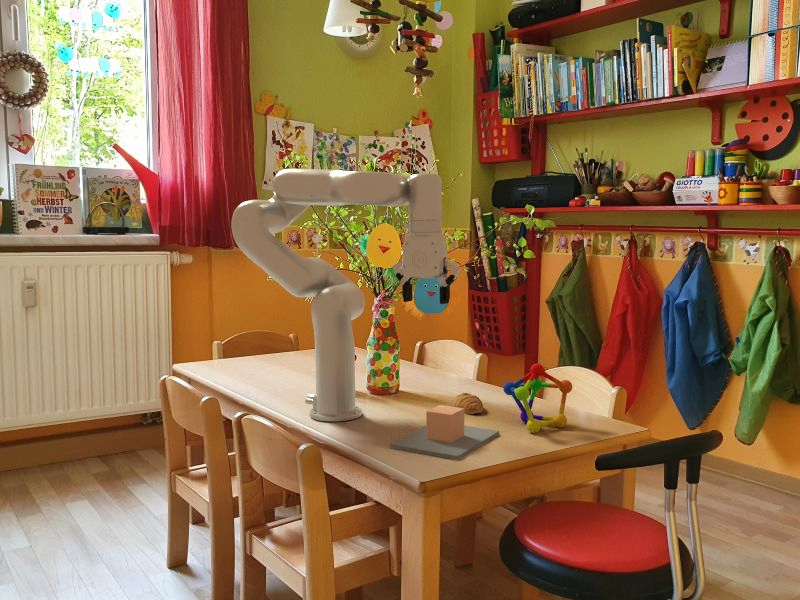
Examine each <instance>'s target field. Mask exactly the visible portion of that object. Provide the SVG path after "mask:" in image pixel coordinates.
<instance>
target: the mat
mask: <svg viewBox="0 0 800 600" xmlns="http://www.w3.org/2000/svg"><path fill="white" fill-rule="evenodd" d="M499 435H500V430H495V429H489V428H484V427H483V428H482V427H476V426H471V425H469V426H468V425H464V436H463V437H461V438H459V439H457V440H456V441H454V442H452V443H450V442H444V441H438V440H432V439H427V425H425V426H423V427H420V428H419V429H417V430H415V431H412V432H411V433H409V434H407V435H404V436H403V437H401V438H399V439H397V440H395V441H393V442H390V443H389V448H390V449H395V450H401V451H406V452H410V453H411V452H413V453H417V454H423V455H429V456H433V457H438V458H439V457H440V458H445V459H450V460H456V461H459V460H461V459H462V458H464V457H465V456H467V455H469V454H470V453H471V452H473V451H475V450H477V449H478V448H480V447H481V446H483V445H484V444H486V443H487V442H489V441H491V440H493V439H494V438H496V437H497V436H499Z"/></svg>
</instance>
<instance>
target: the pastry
mask: <svg viewBox="0 0 800 600" xmlns="http://www.w3.org/2000/svg"><path fill="white" fill-rule="evenodd" d="M452 404H453V407H458V408H464V415H467V414H469V415H474V414H482V413H483V411H484V404H483V402H482V400H481V399H480V397H478V396H477V395H475V394H474V395H473V394H472V393H467V392H463V393H460V394H458V395H457V396H456V397H455V398H454V400H453V403H452Z"/></svg>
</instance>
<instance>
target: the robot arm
mask: <svg viewBox="0 0 800 600" xmlns="http://www.w3.org/2000/svg"><path fill="white" fill-rule="evenodd" d="M442 186H443V185H442V177H441V176H440V175H439V174H437V173H432V172H431V173H429V172H427V173H425V172H423V173H415V174H414V173H413V174H412V175H405V174H399V173H394V172H393V173H392V172H387V171H386V172H385V171H356V170H355V171H350V170H349V171H348V170H341V169H323V168H321V169H318V168H317V169H316V168H286V169H282V170H280V171H278V172H277V173H276V174H275V175H274V177H273V178H272V183H271V189H272V193H273V196H272V197H271V198H269V199H267V200H265V199H251V200H247V201H243V202H242V203H240V204H239V205H237V207H236V208H235V209H234V211H233V214H232V217H231V223H230V224H231V232H232V236H233V239H234V242H235V244H236V245H237V247H238V248H239V250H240V252H242V253H243V254H244V255H245V256H246V257H247V258H248V259H249V261H252V262H253V263H254V264H255V265H256V266H258V267H259V269H261V270H262V271H264V273H266V274H267V275H268V277H271V279H273V280H274V281H275V282H276V283H277V284H278V285H279V286H281V287H282V288H283V289H284V290H286V292H288V293H289V294H290V295H291V296H294V297H296V298H307V297H313V299H312V301H311V307H310V316H311V321H312V322H311V323H312V328H313V335H314V350H315V351H314V355H315V356H314V358H315V394H311V393H310V394H307V397H306V398H305V400H304V402H305V404H306V405H312V409H311V410H310V413H309V414H310V418H312V419H314V420H316V421H321V422H347V421H351V420H355V419H358V418H360V417H362V414H363V409H362V408H361V407H360V406H357V405H356V366H355V365H356V361H355V359H356V358H355V352H356V350H355V335H354V331H353V326H352V321H353V320H356V319H357V318H359V317H360V316H361V315H362V314H363V313H364V311H365V307H366V297H365V295H364V293H363V291H362V289H360V287H358V286H357V284H355V283H354V282H353V281H352V280H351V279H350V278H348V277H347V276H346V275H344V274H343V273H342V272H341V271H340V270H338V269H337V268H335V267H334V266H333V265H332V264H330V262H328V261H326V260H324V259H322V258H319V257H313V256H312V257H304V256H302V255H301V254H299V253H297V251H295V250H293V249H292V248H291V247H290V246H289V245H288V244H287V243H286V242H285V241H282V240H280V239H279V238H277V237H276V236H274V235H275V234H278V233H281V232H282V231H284V230H285V229H287V228H288V227H289V226H290V225H291V224H292V223H294V222H295V221H296V220H297V219H298V218H299V217H300V216H301V215H303V213H304V212H305V211H306V210H307V209H308V208H309V207H310V206H326V207H327V206H328V207H329V206H330V207H341V206H346V205H349V206H350V205H352V206H353V205H357V206H373V207H374V206H377V207H392V208H393V207H396V208H398V207H399V208H400V207H405V206H408V222H407V223H405V224H404V229H405V230H408V234H405V236H404V240H403V241H404V242H403V247H402V259H401V260H400V261H399V262H396V263H395V264H393V265H392V269H393V272H394V274H395V277H396V279H397V280H398V281H399V283H400V285H402V288H401V289H402V299H403V300H402V301H403V302H404V303H408V302H412V301H413V298H414V297H413V296H414V294H413V292H414V291H413V284H412V283H411V282H412V281H413V279H437V280H438V282H439V283H440V285H441V286H440V287H439V304H440V305H445V304H446V305H447V304H449V303H450V299H451V286H452V285H453V283H455V281H456V280H457V279H458V275H459V273H460V271H461V267H460V266H458V265H457V264H455V263H454V262H452V261H451V260H449V259H448V257H449V256H448V248H447V241H446V237H445V234H444V233H443V231H442V230H443V227H442V225H443V220H442V219H443V217H442V216H443V215H442V214H443V213H442V212H443V210H442V209H443V204H442V203H443V201H442V199H443V197H442V196H443V194H442V189H443V188H442ZM449 270H451V272H450V274H449V275H448V272H449Z"/></svg>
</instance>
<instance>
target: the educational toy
mask: <svg viewBox="0 0 800 600" xmlns="http://www.w3.org/2000/svg"><path fill="white" fill-rule="evenodd" d="M529 370H530V371H529V372H528V373H527V374H525V375H524V376H523V377H520V379H518V380H517V381H515V382H513V381H507V382H506V383H504V384H503V388H502V389H503V392H504V393H505V395H507V396H511V397H512V399H513V400H514V401H515V403H516V405H517V406H518V408H519V410H520V411H521V412H520V419H521V421H522V422H523V423H525V424H526V429H527V430H528V432H529V433H531V434H536V433H538V432H539V431H540V430H541V428H542V427H547V426H552V425H554V426H555V427H557V428H561V429H562V428H564V427H566V425H567V424H568V418H567V416H566V415H565V414H564V413H565V406H566V401H567V394H569V393H570V392H572V390H573V383H572V382H571V381H570V380H568V379H563V380H560V379H558V378H556V377H554V376H553V375H550V374H549V373H547V372H545V368H544V366H543V365H542V364H540V363H534V364H532V365H531V366H530V369H529ZM540 377H544V378H545V379H547V380H549V381H551V383H549V382H548V383H547V382H542V379H540ZM525 382H526V383H525ZM543 388H548V389H549V388H551V389H558V390H559V391H560V392H561V393H562V394H561V397H560V406H559V411H558V412H559V413H557V414H556V415H554V416H553V417H552V416H543V415H536V414H534V413H533V411H532V409H533V404H534V401H535V398H536V393H537V392H539V391H541V390H542V389H543ZM529 389H531V392H530V391H529ZM528 399H529V400H528Z"/></svg>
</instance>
